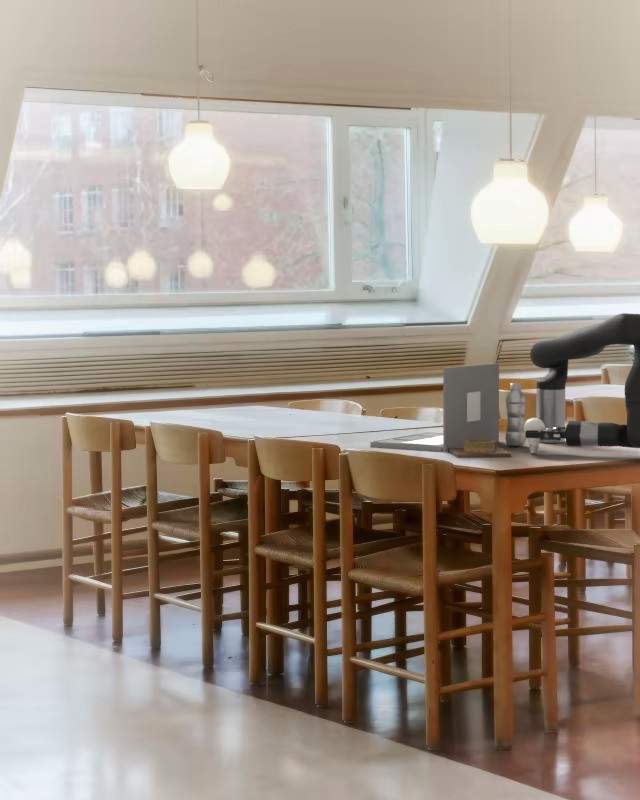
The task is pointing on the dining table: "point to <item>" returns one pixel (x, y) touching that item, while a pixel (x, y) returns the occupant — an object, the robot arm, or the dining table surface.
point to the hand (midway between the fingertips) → (527, 432)
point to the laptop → (460, 411)
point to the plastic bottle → (515, 416)
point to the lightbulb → (535, 425)
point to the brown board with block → (479, 449)
